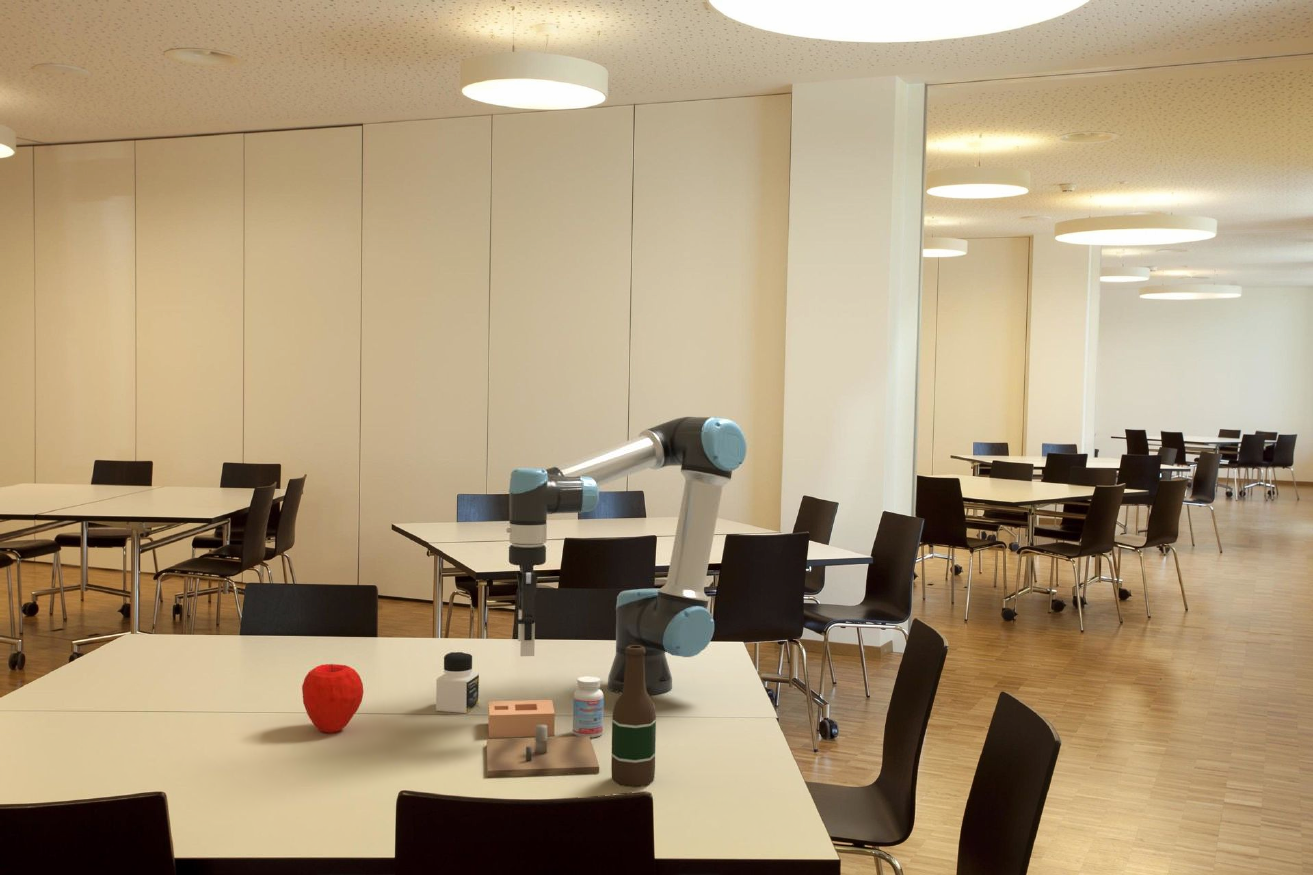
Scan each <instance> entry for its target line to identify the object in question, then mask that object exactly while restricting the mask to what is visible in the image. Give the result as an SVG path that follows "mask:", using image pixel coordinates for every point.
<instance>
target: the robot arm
mask: <svg viewBox="0 0 1313 875" xmlns="http://www.w3.org/2000/svg"><path fill="white" fill-rule="evenodd" d="M746 439H747V438H746V437H745V433H743V430H742V429H741V427H740V426H739V425H738V424H737V423H736V422H734V421H733V420H731V419H727V418H723V417H722V418H721V417H715V416H713V417H703V416H698V417H697V416H683V417H679V418H678V417H677V418H674V419H672V420H669V421H666V422H663V423H661V424H658V425H656V426H653V427H650V428H647V429H643V430H642V431H641V432H640V433H639V435H638V436H637V437H635V438H632V439H629V440H626V441H623V442H621V443H617V444H615V445H612V446H609V447H606V448H604V449H601V450H598V451H594V452H593V453H592V452H591V453H589V454H586V455H584V456H580V457H578V458H575V459H572V460H569V461H567V462H564V463H561V464H558V465H555V466H552V467H549V468H546V469H545V468H536V467H535V468H534V467H533V468H532V467H521V468H518V467H517V468H515V469H513V470H512V471H511V473H510V479H509V489H508V493H509V527H507V528H506V529H505V530H506V533H508V535H509V537H508V538H509V539H508V540H509V543H510V545H509V547H508V562H509V564H510V565H513V566H519V571H517V572H516V580H517V589H518V600H517V602H518V620H517V624H518V626H517V627H518V628H517V630H518V633H517V634H518V635H517V639H518V640H517V642H520V654H519V655H520V657H535V646H536V645H535V639H536V638H535V636H536V635H535V632H536V631H535V630H536V620H537V618H536V593H537V583H538V573H537V571H534V567H535V566H542V565H544V564H546V561H547V555H546V554H547V547H546V545H545V544H546V543H547V532H548V531H547V528H548V527H547V519H548V518H547V517H548V515H553V514H575V513H577V514H582V513H589V512H592V511H594V509H596V507H597V506H598V504H599V501H600V490H599V487H600V486H603V485H606V484H609V483H611V482H613V481H617V480H619V479H621V478H624V477H627V476H631V475H633V474H635V473H639V472H642V471H644V470H646V469H651V470H660V469H662V468H665V467H673V466H675V467H676V466H677V467H679V466H680V473H681V474H682V476H683V477H684V480H685V481H684V488H683V493H682V498H681V502H680V508H679V515H678V520H677V525H676V530H675V536H674V541H673V546H672V551H671V557H670V562H669V566H668V568H669V569H668V573H667V578H666V582H665V584H664V585H663V586H662V587H660V588H639V589H630V590H629V589H628V590H622V591H620V592H619V594H618V595H617V596H616V605H615V611H616V614H615V617H616V622H615V623H616V624H615V655H614V659H613V662H612V665H611V667H610V670H609V674H608V677H607V687H608V689H609V690H611V691H612V692H615V693H619V694H621V693H622V691H623V686H624V677H625V664H626V653H624V652H625V649H626V647H628V646H630V645H640V646H642V647H644V648H645V651H646V653H645V654H644V664H645V684H646V690H647V693H648V694H649V696H650V695H658V694H663V693H666V692H669V691H670V690H672V689H673V676H672V673H671V669H670V666H669V663H668V660H667V656H666V654H667V653H668V654H670V655H671V656H674V657H675V656H677V657H682V658H691V657H692V658H693V657H695V656H697V655H699V654H700V653H701V652H702V651H704V650H705V649H706V648H707V647H708V645H709V644H710V642H711V640H712V639H713V636H714V632H715V621H714V619H713V616H712V613H711V612H710V611H709V610H708V607H709V606H708V605H709V602H710V601H709V600H710V598H708V595H707V594H706V593H705V590H704V589H705V585H706V581H707V580H706V579H707V576H708V575H707V574H708V568H709V563H710V557H711V552H712V547H713V541H714V537H715V530H716V526H717V520H718V514H719V508H720V503H721V496H722V492H723V487H724V486H725V485H727V484H728V483H729V482H731V479H732V474H733V471H734V470H736V469H738V468H739V467H740V465H742V464H743V462H744V461H745V458H746V455H747V441H746Z"/></svg>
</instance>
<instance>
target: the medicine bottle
mask: <svg viewBox="0 0 1313 875" xmlns="http://www.w3.org/2000/svg"><path fill="white" fill-rule="evenodd" d="M479 678H480V676H479V673H478V672H473V655H472V654H471V653H469V652H466V651H452V652H449V653H447V654H445V655H444V657H443V674H442V675H440V676H438V678H436V682H435V684H436V688H435V690H436V691H435V692H436V693H435V694H436V696H435V697H436V700H435V701H436V702H435V703H436V704H435V710H436V712H445V713H454V714H455V713H458V714H467V713H469V712H470V711H472V710H473V709H475V708H476V707H477V706H478V705H479V693H480V692H479V690H480V688H479V686H480V683H479V682H480V679H479Z"/></svg>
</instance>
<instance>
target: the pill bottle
mask: <svg viewBox="0 0 1313 875" xmlns="http://www.w3.org/2000/svg"><path fill="white" fill-rule="evenodd" d="M576 681H577V684H576V685H577V689H576V690H575V691H574V692H573V700H572V701H573V707H572V709H573V711H572V712H573V713H572V734H573V735H574V736H575V737H581V736H589V737H590V739H591V738H597V737H600V736H602V734H603V731H604V730H603V729H604V726H603V725H604V693H603V691H602V689H600V687H601V678H599V677H597V676H589V675H588V676H581V677H578V678H577V680H576Z"/></svg>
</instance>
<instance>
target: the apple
mask: <svg viewBox="0 0 1313 875" xmlns="http://www.w3.org/2000/svg"><path fill="white" fill-rule="evenodd" d="M303 679H304V680H303V683H302V685H301V690H302V692H301V693H302V701H303V706H304V709H305V711H306V714H307V716H308V718H309V720H310V721H311V723H312V725H313V726H314V727H315V728H316V729H317V730H318V731H320V732H322V733H329V734H334V733H338V732H339V731H340V732H341V731H342V730H343V729H344V728H345V727H347V725H348V724H349V723H350V721H351V720H352V718H353V717H354V715H355V714H356V712H358V710H359V707H360V705H361V704H362V702H363V697H364V693H365V692H364V684H363V681H362V679H361V676H360V674H359V672H357V671H356V669H354V668H353V667H350V666H349V665H346V664H345V665H344V664H337V663H329V664H328V663H327V664H319V665H317V666H315V667H314V668H312V669H311V670H309V671H308V673H307V674H306V676H305V677H304V678H303Z"/></svg>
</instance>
